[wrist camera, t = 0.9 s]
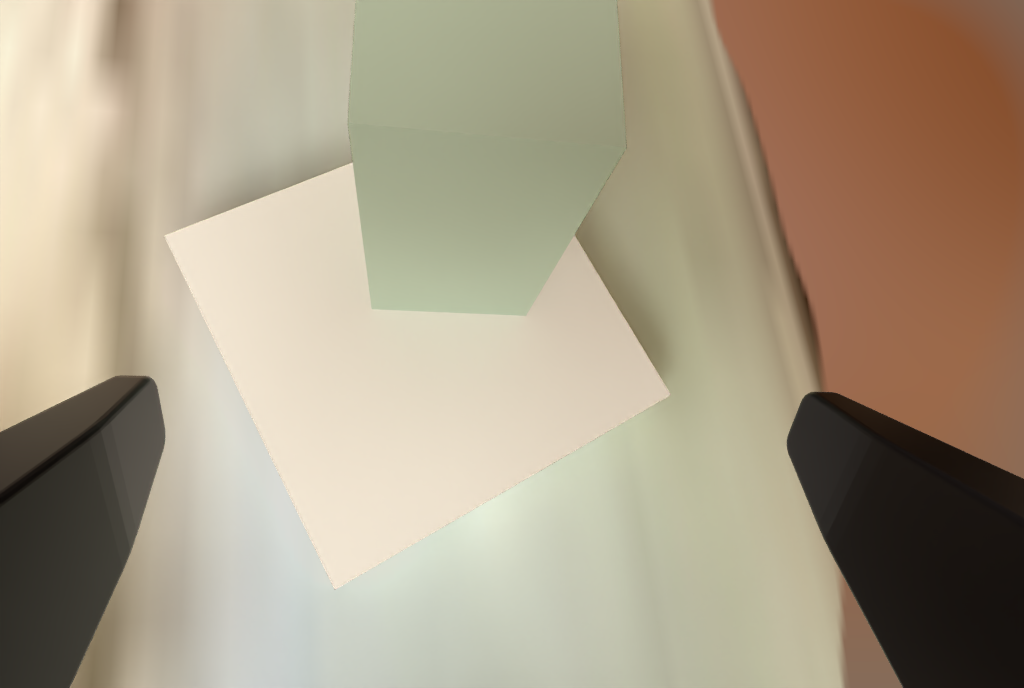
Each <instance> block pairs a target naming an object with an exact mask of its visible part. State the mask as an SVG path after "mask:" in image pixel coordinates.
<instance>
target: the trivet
mask: <svg viewBox="0 0 1024 688" xmlns="http://www.w3.org/2000/svg"><path fill="white" fill-rule="evenodd" d="M164 237H165V239H166V241H167V243H168V245H169V247H170V249H171V251H172V253H173V255H174V257H175V260H176V262H177V264H178V266H179V268H180V270H181V272H182V274H183V276H184V278H185V280H186V282H187V284H188V286H189V289H190V291H191V293H192V295H193V297H194V299H195V301H196V303H197V305H198V307H199V309H200V311H201V313H202V315H203V318H204V320H205V322H206V324H207V326H208V328H209V330H210V332H211V334H212V336H213V338H214V340H215V342H216V345H217V347H218V349H219V351H220V353H221V355H222V357H223V359H224V361H225V363H226V365H227V367H228V369H229V371H230V374H231V376H232V378H233V380H234V382H235V384H236V386H237V388H238V390H239V392H240V394H241V396H242V398H243V400H244V403H245V405H246V407H247V409H248V411H249V413H250V415H251V417H252V419H253V421H254V423H255V425H256V427H257V429H258V432H259V434H260V436H261V438H262V440H263V442H264V444H265V446H266V448H267V450H268V452H269V454H270V456H271V458H272V461H273V463H274V465H275V467H276V469H277V471H278V473H279V475H280V477H281V479H282V481H283V483H284V485H285V488H286V490H287V492H288V494H289V496H290V498H291V500H292V502H293V504H294V506H295V508H296V510H297V512H298V514H299V517H300V519H301V521H302V523H303V525H304V527H305V529H306V531H307V533H308V535H309V537H310V539H311V541H312V543H313V546H314V548H315V550H316V552H317V554H318V556H319V558H320V560H321V562H322V564H323V566H324V568H325V570H326V572H327V575H328V577H329V579H330V581H331V583H332V585H333V587H334V589H337V588H339V587H340V586H342V585H344V584H346V583H347V582H349V581H351V580H353V579H354V578H356V577H358V576H359V575H361V574H363V573H365V572H366V571H368V570H370V569H372V568H373V567H375V566H377V565H378V564H380V563H382V562H384V561H385V560H387V559H389V558H391V557H392V556H394V555H396V554H397V553H399V552H401V551H403V550H404V549H406V548H408V547H410V546H411V545H413V544H415V543H416V542H418V541H420V540H422V539H423V538H425V537H427V536H429V535H430V534H432V533H434V532H435V531H437V530H439V529H441V528H442V527H444V526H446V525H448V524H449V523H451V522H453V521H454V520H456V519H458V518H460V517H461V516H463V515H465V514H467V513H468V512H470V511H472V510H473V509H475V508H477V507H479V506H480V505H482V504H484V503H486V502H487V501H489V500H491V499H492V498H494V497H496V496H498V495H499V494H501V493H503V492H505V491H506V490H508V489H510V488H511V487H513V486H515V485H517V484H518V483H520V482H522V481H524V480H525V479H527V478H529V477H530V476H532V475H534V474H536V473H537V472H539V471H541V470H543V469H544V468H546V467H548V466H549V465H551V464H553V463H555V462H556V461H558V460H560V459H562V458H563V457H565V456H567V455H568V454H570V453H572V452H574V451H575V450H577V449H579V448H581V447H582V446H584V445H586V444H587V443H589V442H591V441H593V440H594V439H596V438H598V437H600V436H601V435H603V434H605V433H606V432H608V431H610V430H612V429H613V428H615V427H617V426H619V425H620V424H622V423H624V422H625V421H627V420H629V419H631V418H632V417H634V416H636V415H638V414H639V413H641V412H643V411H644V410H646V409H648V408H650V407H651V406H653V405H655V404H657V403H658V402H660V401H662V400H663V399H665V398H667V397H669V396H670V395H671V394H670V392H669V391H668V389H667V387H666V386H665V384H664V382H663V381H662V379H661V377H660V376H659V374H658V373H657V371H656V369H655V368H654V366H653V364H652V363H651V361H650V359H649V358H648V356H647V354H646V353H645V351H644V349H643V348H642V346H641V344H640V343H639V341H638V339H637V338H636V336H635V334H634V333H633V331H632V329H631V328H630V326H629V324H628V323H627V321H626V319H625V318H624V316H623V315H622V313H621V311H620V310H619V308H618V306H617V305H616V303H615V301H614V300H613V298H612V296H611V295H610V293H609V291H608V290H607V288H606V286H605V285H604V283H603V281H602V280H601V278H600V276H599V275H598V273H597V271H596V270H595V268H594V266H593V265H592V263H591V261H590V260H589V258H588V256H587V255H586V253H585V252H584V250H583V248H582V247H581V245H580V243H579V242H578V240H577V238H576V237H575V235H574V236H573V238H572V240H571V241H570V243H569V245H568V246H567V248H566V250H565V251H564V253H563V255H562V256H561V258H560V260H559V261H558V263H557V265H556V266H555V268H554V270H553V271H552V273H551V275H550V276H549V278H548V280H547V281H546V283H545V285H544V286H543V288H542V290H541V291H540V293H539V295H538V296H537V298H536V300H535V301H534V303H533V305H532V306H531V308H530V310H529V311H528V313H527V315H526V316H519V315H496V314H472V313H449V312H426V311H402V310H379V309H372V308H371V300H370V292H369V285H368V277H367V269H366V262H365V254H364V246H363V238H362V231H361V223H360V215H359V208H358V200H357V192H356V185H355V177H354V169H353V162H352V163H350V164H347V165H344V166H342V167H339V168H337V169H334V170H332V171H329V172H326V173H324V174H321V175H319V176H316V177H314V178H311V179H308V180H306V181H303V182H301V183H298V184H295V185H293V186H290V187H288V188H285V189H283V190H280V191H277V192H275V193H272V194H270V195H267V196H265V197H262V198H259V199H257V200H254V201H252V202H249V203H247V204H244V205H241V206H239V207H236V208H234V209H231V210H229V211H226V212H223V213H221V214H218V215H216V216H213V217H211V218H208V219H205V220H203V221H200V222H198V223H195V224H193V225H190V226H187V227H185V228H182V229H180V230H177V231H175V232H172V233H169V234H167V235H164Z"/></svg>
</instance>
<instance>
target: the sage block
mask: <svg viewBox="0 0 1024 688" xmlns="http://www.w3.org/2000/svg"><path fill="white" fill-rule="evenodd" d="M348 131H349V139H350V146H351V154H352V162H353V169H354V177H355V185H356V192H357V200H358V208H359V215H360V223H361V231H362V238H363V246H364V254H365V262H366V269H367V277H368V285H369V292H370V300H371V308H372V309H379V310H402V311H426V312H449V313H472V314H496V315H519V316H526V315H527V313H528V311H529V310H530V308H531V306H532V305H533V303H534V301H535V300H536V298H537V296H538V295H539V293H540V291H541V290H542V288H543V286H544V285H545V283H546V281H547V280H548V278H549V276H550V275H551V273H552V271H553V270H554V268H555V266H556V265H557V263H558V261H559V260H560V258H561V256H562V255H563V253H564V251H565V250H566V248H567V246H568V245H569V243H570V241H571V240H572V238H573V236H574V235H575V233H576V231H577V230H578V228H579V226H580V225H581V223H582V221H583V220H584V218H585V216H586V215H587V213H588V211H589V210H590V208H591V206H592V205H593V203H594V201H595V200H596V198H597V196H598V195H599V193H600V191H601V190H602V188H603V186H604V185H605V183H606V181H607V180H608V178H609V176H610V175H611V173H612V171H613V170H614V168H615V166H616V165H617V163H618V161H619V160H620V158H621V156H622V155H623V153H624V151H625V150H626V148H627V144H626V129H625V113H624V98H623V83H622V68H621V53H620V38H619V23H618V7H617V0H356V4H355V19H354V34H353V49H352V63H351V78H350V93H349V108H348Z"/></svg>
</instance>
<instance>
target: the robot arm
mask: <svg viewBox="0 0 1024 688" xmlns="http://www.w3.org/2000/svg"><path fill="white" fill-rule="evenodd" d="M164 444H165V426H164V421H163V415H162V410H161V405H160V399H159V394H158V389H157V385H156V383H155V381H154V380H153V379H152V378H150V377H148V376H115V377H113V378H110V379H108V380H106V381H104V382H102V383H100V384H98V385H96V386H94V387H92V388H90V389H88V390H86V391H84V392H82V393H80V394H78V395H76V396H74V397H71V398H69V399H67V400H65V401H63V402H61V403H59V404H57V405H55V406H53V407H51V408H49V409H47V410H45V411H43V412H41V413H39V414H37V415H35V416H32V417H30V418H28V419H26V420H24V421H22V422H20V423H18V424H16V425H14V426H12V427H10V428H8V429H6V430H4V431H2V432H0V688H70V686H71V684H72V682H73V680H74V677H75V675H76V673H77V671H78V669H79V666H80V664H81V662H82V660H83V658H84V655H85V653H86V651H87V649H88V647H89V644H90V642H91V640H92V638H93V636H94V633H95V631H96V629H97V627H98V625H99V622H100V620H101V618H102V616H103V614H104V611H105V609H106V607H107V605H108V602H109V600H110V598H111V596H112V594H113V591H114V589H115V587H116V585H117V583H118V580H119V578H120V576H121V574H122V572H123V569H124V567H125V565H126V562H127V560H128V557H129V555H130V553H131V550H132V547H133V544H134V541H135V538H136V535H137V532H138V529H139V526H140V523H141V520H142V516H143V513H144V510H145V507H146V504H147V500H148V497H149V494H150V491H151V487H152V484H153V481H154V478H155V475H156V471H157V468H158V465H159V462H160V459H161V455H162V452H163V449H164ZM787 449H788V453H789V456H790V458H791V461H792V463H793V466H794V468H795V471H796V473H797V476H798V478H799V480H800V483H801V485H802V488H803V490H804V493H805V495H806V497H807V500H808V502H809V505H810V507H811V510H812V512H813V514H814V517H815V519H816V522H817V524H818V527H819V529H820V531H821V533H822V536H823V538H824V540H825V542H826V544H827V546H828V548H829V550H830V552H831V554H832V556H833V558H834V560H835V562H836V564H837V565H838V567H839V569H840V571H841V573H842V575H843V577H844V578H845V580H846V582H847V584H848V586H849V588H850V590H851V591H852V593H853V595H854V597H855V599H856V601H857V603H858V605H859V607H860V608H861V610H862V612H863V614H864V616H865V618H866V620H867V621H868V623H869V625H870V627H871V629H872V631H873V633H874V634H875V636H876V638H877V640H878V642H879V644H880V646H881V648H882V650H883V651H884V653H885V655H886V657H887V659H888V661H889V663H890V664H891V666H892V668H893V670H894V672H895V674H896V676H897V677H898V679H899V681H900V683H901V685H902V687H903V688H1024V479H1023V478H1021V477H1019V476H1016V475H1014V474H1012V473H1010V472H1008V471H1005V470H1003V469H1001V468H999V467H997V466H994V465H992V464H990V463H988V462H986V461H983V460H981V459H979V458H977V457H975V456H972V455H970V454H968V453H966V452H964V451H962V450H960V449H958V448H955V447H953V446H951V445H949V444H947V443H944V442H942V441H940V440H938V439H936V438H934V437H931V436H929V435H927V434H925V433H923V432H921V431H918V430H916V429H914V428H912V427H910V426H908V425H905V424H903V423H901V422H898V421H897V420H894V419H892V418H890V417H888V416H886V415H884V414H881V413H879V412H877V411H875V410H873V409H871V408H868V407H866V406H864V405H862V404H860V403H857V402H855V401H853V400H851V399H849V398H847V397H844V396H842V395H840V394H838V393H833V392H810V393H808V394H807V395H805V396H804V398H803V399H802V401H801V403H800V406H799V408H798V411H797V413H796V416H795V419H794V421H793V424H792V426H791V429H790V431H789V434H788V437H787Z"/></svg>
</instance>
